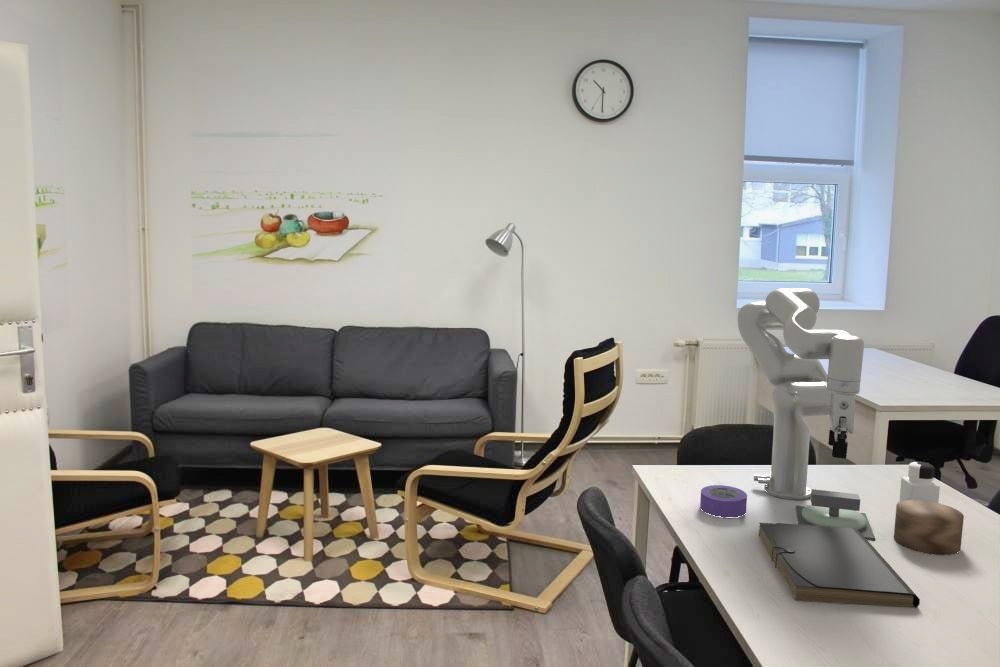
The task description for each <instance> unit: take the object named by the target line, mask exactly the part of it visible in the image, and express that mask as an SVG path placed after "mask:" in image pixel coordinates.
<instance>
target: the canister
mask: <svg viewBox="0 0 1000 667" xmlns="http://www.w3.org/2000/svg"><path fill="white" fill-rule="evenodd" d="M964 519H965V516H964V514H963V513H962V512H961V511H960V510H958V509H956V508H954V507H952V506H949V505H945V504H943V503H939V502H938V503H935V502H929V501H921V500H906V501H901V502H900V501H899V502H897V503H896V507H895V519H894V528H893V530H894V531H893V539H894V540H895V542H896V543H897V544H899V545H901V546H902V547H903V548H906V549H908V550H910V551H915V552H917V553H921V552H922V553H921V554H926V553H927V555H932V554H934V555H933V556H935V555H936V556H951V554H953V555H956V554H958V553H960V552H961V550H960V549H961V547H962V539H963V529H964ZM959 551H960V552H959ZM957 552H958V553H957ZM955 553H956V554H955Z"/></svg>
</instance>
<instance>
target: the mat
mask: <svg viewBox="0 0 1000 667" xmlns="http://www.w3.org/2000/svg"><path fill="white" fill-rule="evenodd" d="M804 507H805V505H804V506H803V505H797V504H796V505H795V511H796V518H797V524H801V525H810V524H808V523H807V522H805V521H804V520H803V519H802V509H803V508H804ZM860 513H861V514H862V515H863V516H864V517H865V518H866V527H865V529H864V530H862V531H859V532H860V533H861V534H862V535H863V536H864V537H865V538H866V539H867V540H869V541H876V537H875V534H874V532H873V529H872V527H871V524H870V521H869V519H868V516H867V514H866V513H865V512H860Z"/></svg>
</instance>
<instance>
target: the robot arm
mask: <svg viewBox="0 0 1000 667" xmlns="http://www.w3.org/2000/svg"><path fill="white" fill-rule="evenodd" d="M819 298H820V297H819V296H818V295H817V293H816V292H815V291H814V290H813V289H810V288H797V287H796V288H795V287H794V288H793V287H791V288H788V287H787V288H783V287H782V288H777V289H775V290H772V291H770V292H769V293H768V294H767V295H766V297H765V301H756V302H755V301H754V302H753V301H752V302H749V303H747V304H744V305H743V306H741V307H740V309H739V310H738V313H737V327H738V332H739V334H740V336H741V339H742V340H743V343H745V344H746V346H747V348H748V349H750V351H751V352H752V354H753V355H754V358H755V360H756V361H757V364H758V366H759V368H760V370H761V372H762V373H763V376H764V377H765V379H766V381H767V382H768V383H769V384H770V386H773V387H774V389H773V390H772V393H771V403H772V412H773V436H772V450H771V452H772V453H771V467H770V470H771V471H769V474H768V473H767V474H765V475H762V474H753V481H754V482H757V483H758V484H764V488H763V489H765V490H766V491H767V492H768V494H769V493H770V494H772V495H771V496H773V495H774V496H773V497H776V498H780V499H786V500H795V501H796V500H806V499H810V498H811V489H812V488H810V487H808V486H807V485H808V484H807V483H808V467H809V452H810V451H809V450H810V436H811V435H810V434H811V433H810V429H809V427H808V425H807V424H806V423H805V421H804V417H820V416H822V417H823V416H828V421H829V422H828V423H829V426H830V427H829V428H830V429H829V433H828V443H827V444H828V446H832V453H831V457H833V458H834V459H835V458H837V459H847V457H848V456H847V454H848V445H849V443H848V433H849V434H850V435H852V434H853V433H854V431H855V430H854V428H855V411H856V410H855V409H856V395H858V394H860V389H861V380H862V368H863V359H864V349H865V341H864V340H863V338H861V337H859V336H855V335H852V334H850V333H849V332H848V331H846V330H842V329H813V328H814V327H815V325H816V323H817V315H818V312H819V309H820V307H821V306H820V304H821V303H820V299H819ZM782 330H783V331H782ZM769 331H782V332H783V334H782V335H783V339H784V340H783V341H784V343H785V345H786V347H787V348H788V349H789V350H790V351H791V352H792V353H790V352H787V350H786V349H785V346H784V345H783V343H782V341H781V340H780V339H779V338H778V337H777V336H775V335H774V334H772V333H771V332H769ZM820 360H828V366H827V367H828V368H827V371H826V370H825V368H824V366H823V365H822V363H821V362H820ZM765 490H764V491H765ZM766 491H765V492H766ZM767 492H766V493H767ZM770 494H769V495H770Z"/></svg>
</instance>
